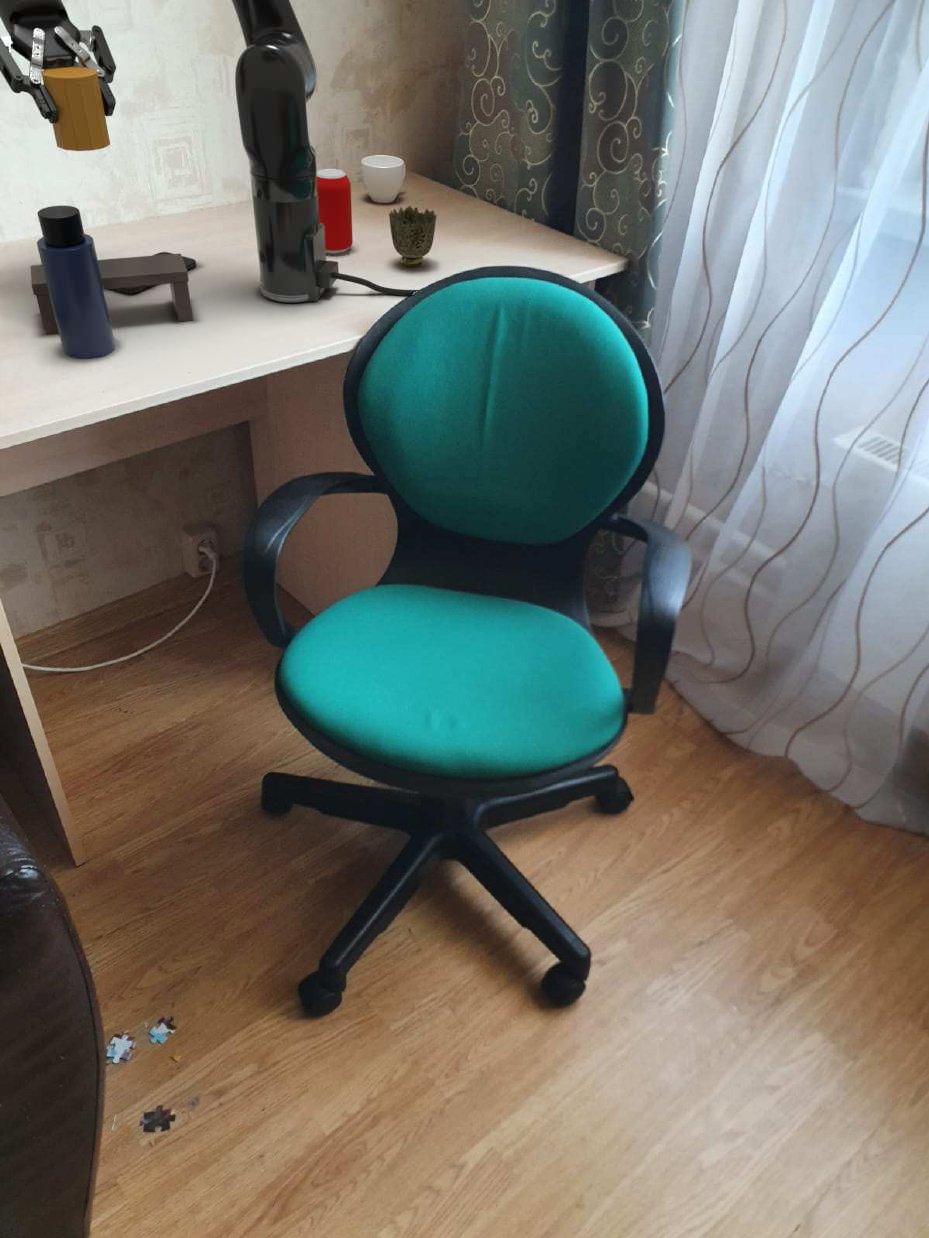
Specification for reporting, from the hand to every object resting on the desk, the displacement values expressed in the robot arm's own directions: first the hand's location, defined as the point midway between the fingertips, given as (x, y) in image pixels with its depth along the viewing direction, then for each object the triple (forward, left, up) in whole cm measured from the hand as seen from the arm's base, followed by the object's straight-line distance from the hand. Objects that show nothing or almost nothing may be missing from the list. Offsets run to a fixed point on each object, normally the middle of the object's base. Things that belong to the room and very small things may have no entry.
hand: (83, 115), depth 116 cm
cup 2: (-34, -33, -26) cm, 54 cm away
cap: (+1, -1, -4) cm, 4 cm away
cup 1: (-22, -65, -26) cm, 73 cm away
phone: (+4, -17, -26) cm, 31 cm away
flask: (+1, +9, -26) cm, 28 cm away
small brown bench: (+1, -1, -26) cm, 26 cm away
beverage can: (-20, -36, -26) cm, 49 cm away
